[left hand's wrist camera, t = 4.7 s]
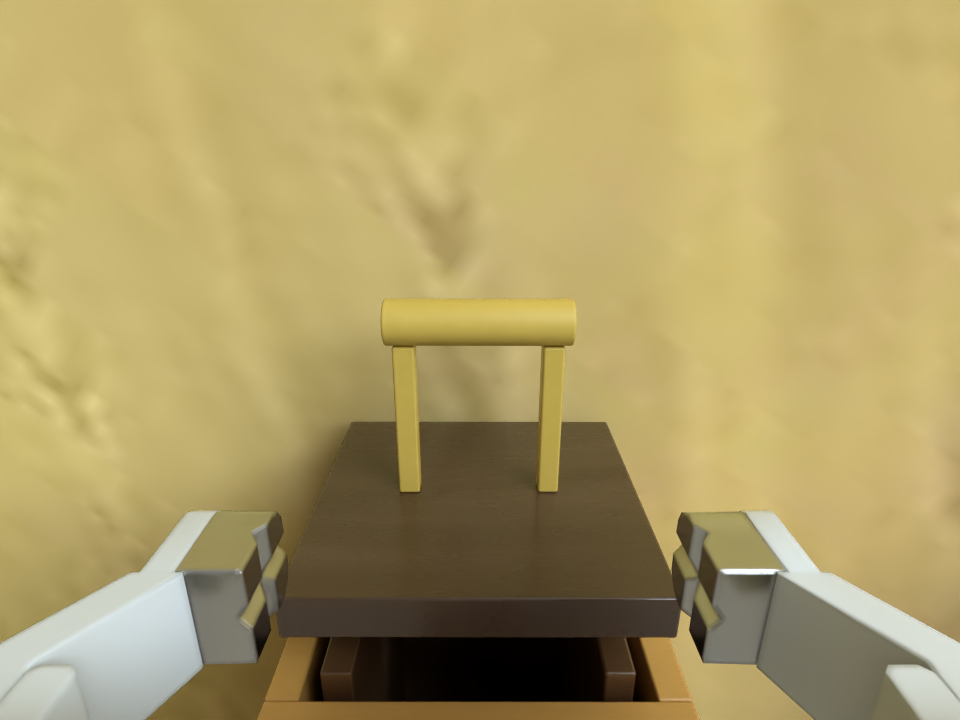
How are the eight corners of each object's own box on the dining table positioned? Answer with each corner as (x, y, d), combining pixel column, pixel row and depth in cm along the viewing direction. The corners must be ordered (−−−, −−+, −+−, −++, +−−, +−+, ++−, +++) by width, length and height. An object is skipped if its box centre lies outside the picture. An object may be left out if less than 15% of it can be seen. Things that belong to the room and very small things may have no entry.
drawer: (338, 265, 20) (235, 362, 12) (619, 265, 20) (721, 362, 12) (380, 766, 29) (339, 1028, 20) (576, 766, 29) (616, 1028, 20)
